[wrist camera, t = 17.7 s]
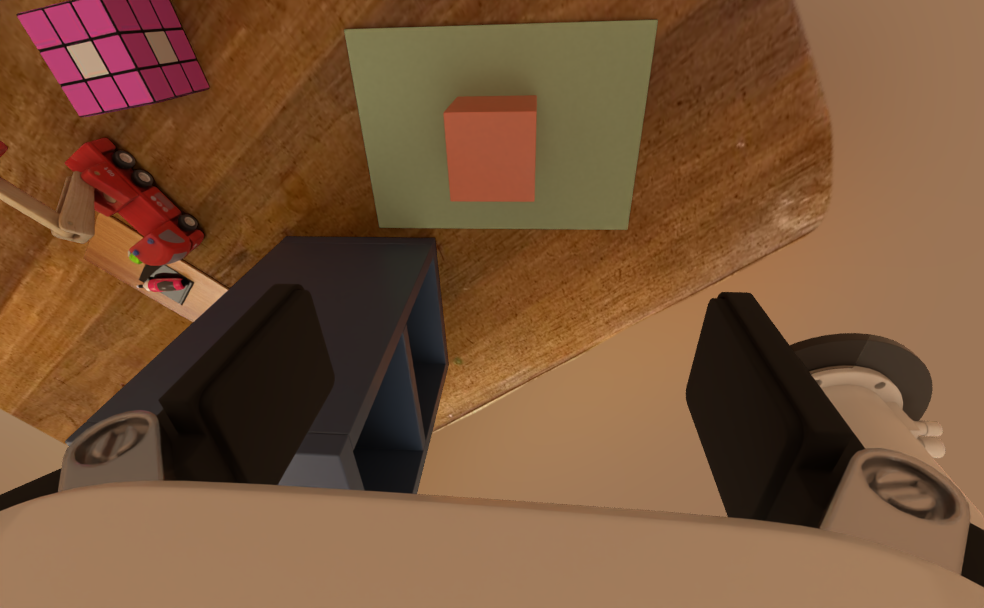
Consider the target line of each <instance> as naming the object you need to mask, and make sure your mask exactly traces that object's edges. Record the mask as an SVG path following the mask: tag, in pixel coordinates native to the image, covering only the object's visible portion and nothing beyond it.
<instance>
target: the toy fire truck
mask: <svg viewBox="0 0 984 608" xmlns="http://www.w3.org/2000/svg"><path fill="white" fill-rule="evenodd" d="M115 148H116V147H115V145H114V144H113V143H112V142H111V141H110V140H109V139H108V138H101V139H98V140H94V141H91V142H86V143H84V144H83V145H82V146H81V147H80V148H79V149H78V150H77V151H76V152H75V153H74V154H73V155H72V156H71V157H70V158H69V159H68V160H67V161H66V162H65V164H66V165H67V166H68V167H69V168H70V169H71V170H72V171H73V175H72V177H67V178H66V181H65V184H64V187H63V190H62V194H61V197H60V200H59V203H58V206H57V209H56V211H54V210H53V209H51V208H50V207H48V206H46V205H45V204H43V203H42V202H40V201H38V200H37V199H35V198H34V197H32V196H30V195H29V194H27V193H25V192H24V191H22V190H21V189H19V188H17V187H16V186H14V185H13V184H11V183H9V182H8V181H6V180H4V179H3V178H1V177H0V199H1V200H2V201H4V202H6V203H7V204H9V205H11V206H12V207H14V208H16V209H17V210H19V211H21V212H22V213H24V214H25V215H27V216H29V217H31V218H32V219H34V220H36V221H37V222H39V223H41V224H42V225H44V226H46V227H48V228H50V229H51V233H52V235H54V236H55V237H57V238H61V239H66V240H69V241H74V242H78V243H86V242H87V241H88V240H89V239H91V238H92V237H93V236H94V235H95V227H94V226H95V222H94V216H95V210H96V211H97V212H99V213H101V214H103V215H105V216H107V217H109V216H111V215H113V214H114V213H119V214H120V215H121V216H122V217H123V218H124V219H125V220H126V221H127V222H129V224H131V225H132V226H133V227H134V228H135V229H136V230H137V231H138V232H139V233H140V234H142V235H143V236H144V238H143V239H141V240H140V241H139V242H137V243H136V244H135V245H134V246H133V247H131V248H130V249H129V251H130V252H131V253H132V254H133V255H134V256H135V257H137V258H138V259H139V260H140V261H141V262H143V263H144V264H147V265H151V266H160V265H167V264H171V263H174V262H177V261H179V260H181V259H182V258H184V257H185V256H187V254H188V253H189V252H190V251H192V250H193V249H195V248H196V247H197V246H199V245H200V243H201V242H202V241H203V238H204V234H203V233H202V232H201V231H200V230H197V229H196V228H197V225H198V223H197V221H196V219H195V218H194V217H192V216H190V215H187V214H185V215H182V213H181V211H180V210H179V209H178V208H177V207H176V206H175V205H174V204H173V203H172V202H171V201H170V200H169V199H168V198H167V197H166V196H165V195H164V194H163V193H162V192H161V191H160V190H159V189H158V188H157V187H154V186H152V183H153V178H152V176H151V175H150V174H149V173H148V172H146V171H144V170H134V171H133V170H132V169H131V168H132V167H133V166H134V165H135V159H134V157H133V156H132V155H131V154H129V153H128V152H126V151H122V150H119V151H116V152H114V150H115ZM7 149H8V147H7V146H6V145H5V144H4V143H3V142H1V141H0V157H1V156H2V155H4V153H5V152H6V151H7Z"/></svg>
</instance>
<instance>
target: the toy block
mask: <svg viewBox="0 0 984 608" xmlns="http://www.w3.org/2000/svg"><path fill="white" fill-rule="evenodd" d="M443 116H444V128H445V140H446V152H447V165H448V177H449V189H450V201H466V202H534V201H535V163H536V122H537V96H536V95H524V96H465V97H457V98H456V99H455V100H454V101H453V102H452V103H451V104H450V106H449V107H448V108H447V109H446V110H445V111H444V113H443Z"/></svg>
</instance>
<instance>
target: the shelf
mask: <svg viewBox="0 0 984 608" xmlns="http://www.w3.org/2000/svg"><path fill="white" fill-rule="evenodd" d="M274 284H300V285H302V286H303V288H304V290H308V291H309V292H310V293H311V296H312V299H313V302H314V306H315V309H316V313H317V316H318V319H319V323H320V326H321V330H322V333H323V337H324V340H325V343H326V347H327V350H328V354H329V357H330V360H331V364H332V367H333V371H334V375H335V381H334V386H333V388H332V390H331V392H330V394H329V395H328V397H327V399H326V401H325V403H324V404H323V406H322V408H321V410H320V411H319V413H318V415H317V417H316V418H315V420H314V422H313V424H312V425H311V427H310V429H309V431H308V433H307V434H306V436H305V438H304V440H303V441H302V443H301V445H300V447H299V448H298V450H297V452H296V454H295V455H294V457H293V459H292V461H291V463H290V464H289V466H288V468H287V470H286V471H285V473H284V475H283V477H282V478H281V480H280V482H279V484H278V485H281V486H297V487H313V488H330V489H346V490H362V491H378V492H393V493H408V494H417V491H418V487H419V483H420V479H421V475H422V471H423V467H424V463H425V459H426V455H427V451H428V446H429V443H430V438H431V435H432V431H433V427H434V423H435V419H436V414H437V410H438V406H439V402H440V398H441V394H442V390H443V386H444V382H445V378H446V374H447V370H448V366H449V364H448V354H447V345H446V336H445V326H444V317H443V308H442V298H441V289H440V280H439V270H438V261H437V252H436V242H435V238H401V237H300V236H286V237H285V238H284V239H283V240H282V241H281V242H280V243H279V244H277V245H276V246H275V247H274V248H273V249H272V250H271V251H270V252H269V253H268V254H267V255H266V256H265V257H263V258H262V259H261V260H260V261H259V262H258V263H257V264H256V265H255V266H254V267H253V268H252V269H250V270H249V271H248V272H247V273H246V274H245V275H244V276H243V277H242V278H241V279H240V280H239V281H237V282H236V283H235V284H234V285H233V286H232V287H231V288H230V289H229V290H228V291H227V292H226V293H224V294H223V295H222V296H221V297H220V298H219V299H218V300H217V301H216V302H215V303H214V304H213V305H211V306H210V307H209V308H208V309H207V310H206V311H205V312H204V313H203V314H202V315H201V316H200V317H199V318H197V319H196V320H195V321H194V322H193V323H192V324H191V325H190V326H189V327H188V328H187V329H186V330H184V331H183V332H182V333H181V334H180V335H179V336H178V337H177V338H176V339H175V340H174V341H173V342H171V343H170V344H169V345H168V346H167V347H166V348H165V349H164V350H163V351H162V352H161V353H160V354H158V355H157V356H156V357H155V358H154V359H153V360H152V361H151V362H150V363H149V364H148V365H147V366H145V367H144V368H143V369H142V370H141V371H140V372H139V373H138V374H137V375H136V376H135V377H134V378H132V379H131V380H130V381H129V382H128V383H127V384H126V385H125V386H124V387H123V388H122V389H121V390H120V391H118V392H117V393H116V394H115V395H114V396H113V397H112V398H111V399H110V400H109V401H108V402H107V403H105V404H104V405H103V406H102V407H101V408H100V409H99V410H98V411H97V412H96V413H95V414H94V415H92V416H91V417H90V418H89V419H88V420H87V422H86V423H84V424H83V425H82V426H81V427H80V428H79V429H78V430H76V431H75V432H74V433H73V434H72V435H71V436H70V437H69V438H68V439H67V440H66V441H65V443H66V444H67V445H68V446H70V444H71V443H72V442H73V441H74V440H75V439H76V438H77V437H78V436H79V435H80V434H82V433H83V432H84V431H85V430H87V429H88V428H90V427H92V426H93V425H95V424H96V423H98V422H100V421H102V420H104V419H107V418H109V417H111V416H113V415H117V414H120V413H124V412H127V411H135V410H144V411H150V412H152V413H153V414H155V415H156V416H157V415H158V414H159V413H160V412H161V411H162V410H163V407H162V406H161V404H160V402H159V401H158V400H159V399H160V398H161V397H162V396H163V395H164V394H165V393H166V392H167V391H168V390H169V389H170V388H171V387H172V386H173V385H174V384H175V383H176V382H177V381H178V380H179V379H180V378H181V377H182V376H183V375H184V374H185V373H186V372H187V371H188V370H189V369H190V368H191V367H192V366H193V365H194V364H195V363H196V362H197V361H198V360H199V359H200V358H201V357H202V356H203V355H204V354H205V353H206V352H207V351H208V350H209V349H210V348H211V347H212V346H213V345H214V344H215V343H216V342H217V341H218V340H219V339H220V338H221V337H222V336H223V335H224V334H225V333H226V332H227V330H228V329H229V328H230V327H231V326H232V325H233V324H234V323H235V322H236V321H237V320H238V319H239V318H240V317H241V316H242V315H243V314H244V313H245V312H246V311H247V310H248V309H249V308H250V307H251V306H252V305H253V304H254V303H255V302H256V301H257V300H258V299H259V298H260V297H261V296H262V295H263V294H264V293H265V292H266V291H267V290H268V289H269V288H270V287H271V286H273V285H274Z"/></svg>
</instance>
